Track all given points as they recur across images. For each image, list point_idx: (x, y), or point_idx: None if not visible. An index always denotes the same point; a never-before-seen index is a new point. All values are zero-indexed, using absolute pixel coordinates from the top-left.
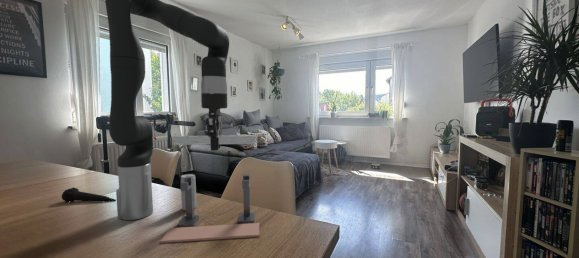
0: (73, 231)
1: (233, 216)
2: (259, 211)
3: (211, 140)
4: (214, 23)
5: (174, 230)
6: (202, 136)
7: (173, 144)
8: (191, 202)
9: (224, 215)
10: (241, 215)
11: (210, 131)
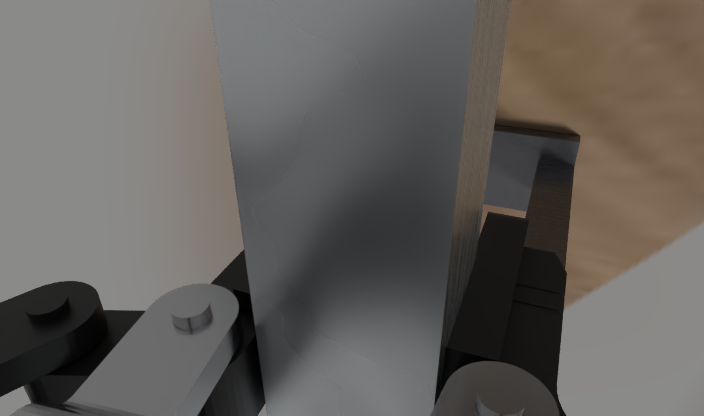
0: None
1: (587, 101)
2: (607, 238)
3: (219, 278)
4: None
5: None
6: (249, 150)
7: None
8: None
9: (624, 47)
10: (541, 149)
11: (87, 401)
